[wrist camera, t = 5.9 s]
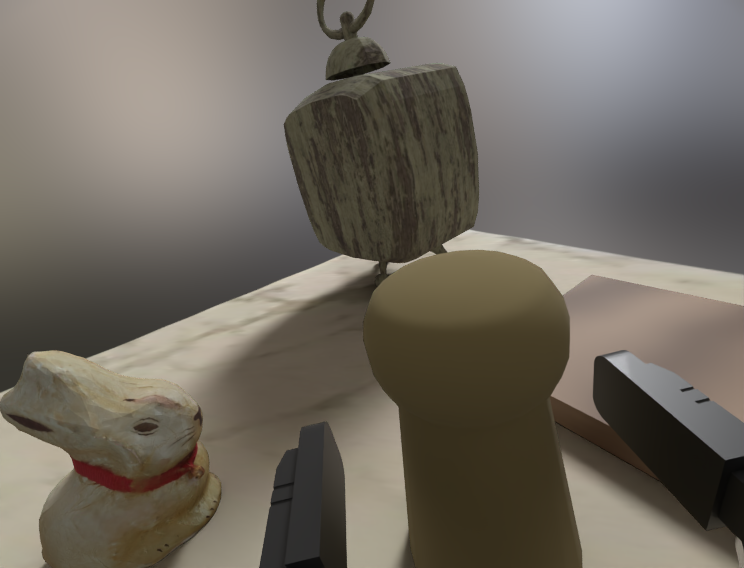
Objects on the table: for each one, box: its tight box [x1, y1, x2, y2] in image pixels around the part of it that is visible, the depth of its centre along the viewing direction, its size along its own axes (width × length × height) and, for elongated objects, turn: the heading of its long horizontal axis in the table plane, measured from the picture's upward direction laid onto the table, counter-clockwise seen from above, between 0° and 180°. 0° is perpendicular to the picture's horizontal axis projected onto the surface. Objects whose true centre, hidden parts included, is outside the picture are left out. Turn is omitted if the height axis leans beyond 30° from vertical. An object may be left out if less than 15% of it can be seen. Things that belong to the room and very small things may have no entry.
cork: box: [363, 250, 582, 568], centre depth 11 cm, size 6×6×11 cm
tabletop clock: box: [284, 0, 479, 287], centre depth 30 cm, size 14×9×25 cm, turn 39°
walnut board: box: [550, 275, 744, 481], centre depth 17 cm, size 16×12×2 cm
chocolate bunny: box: [0, 351, 221, 568], centre depth 15 cm, size 6×8×10 cm
